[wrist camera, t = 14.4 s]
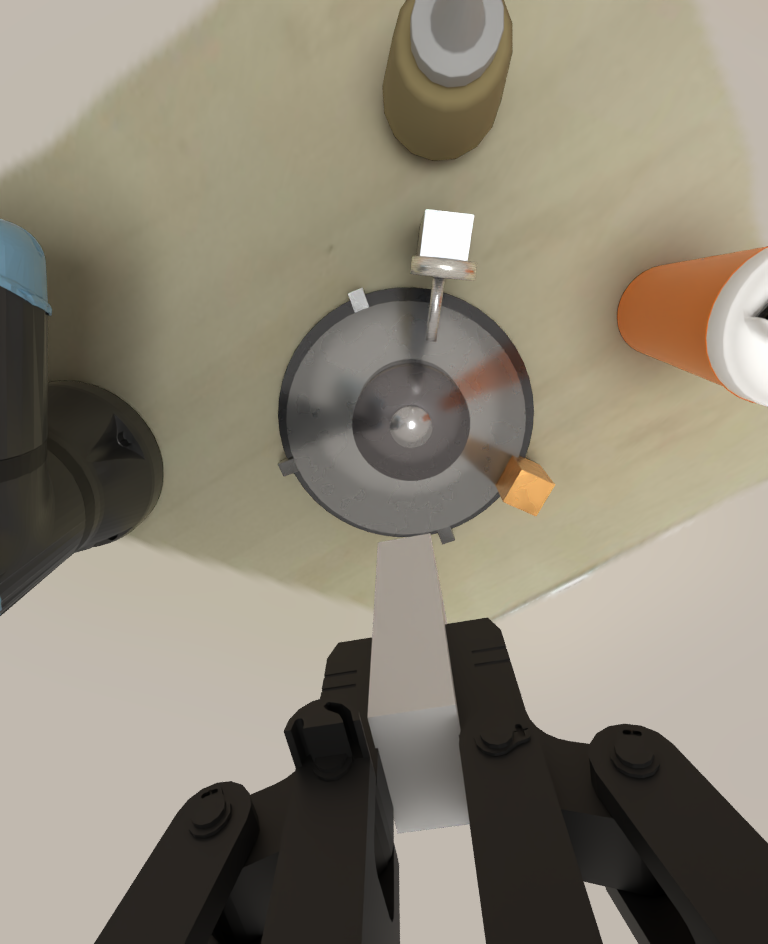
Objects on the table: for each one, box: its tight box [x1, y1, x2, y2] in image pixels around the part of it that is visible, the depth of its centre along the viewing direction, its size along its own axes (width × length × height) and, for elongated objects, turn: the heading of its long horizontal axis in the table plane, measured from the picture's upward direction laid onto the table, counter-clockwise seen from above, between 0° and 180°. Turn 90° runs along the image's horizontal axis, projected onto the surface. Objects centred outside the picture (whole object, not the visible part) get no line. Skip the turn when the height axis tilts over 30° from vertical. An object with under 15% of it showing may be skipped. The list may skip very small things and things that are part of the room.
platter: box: [278, 288, 555, 544], centre depth 45 cm, size 20×22×5 cm
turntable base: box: [278, 287, 534, 537], centre depth 48 cm, size 22×22×1 cm
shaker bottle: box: [617, 246, 768, 407], centre depth 35 cm, size 9×9×20 cm
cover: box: [352, 359, 470, 481], centre depth 43 cm, size 9×9×5 cm
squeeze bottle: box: [383, 0, 512, 161], centre depth 32 cm, size 8×8×18 cm
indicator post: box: [410, 209, 477, 342], centre depth 38 cm, size 4×8×13 cm, turn 174°
